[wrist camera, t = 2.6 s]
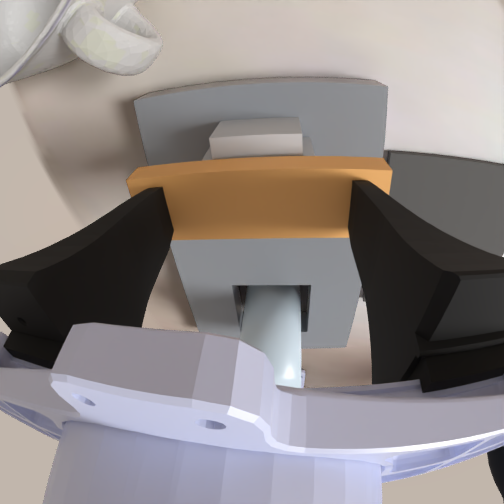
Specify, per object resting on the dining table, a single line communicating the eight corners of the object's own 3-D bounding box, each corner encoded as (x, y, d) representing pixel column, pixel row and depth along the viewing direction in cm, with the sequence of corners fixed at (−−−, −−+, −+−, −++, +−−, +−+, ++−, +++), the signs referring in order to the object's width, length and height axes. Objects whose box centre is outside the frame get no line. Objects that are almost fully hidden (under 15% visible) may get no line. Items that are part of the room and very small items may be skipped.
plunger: (362, 192, 15) (381, 237, 12) (170, 197, 16) (145, 240, 13) (367, 136, 13) (392, 170, 10) (158, 145, 14) (125, 180, 11)
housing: (343, 328, 25) (348, 374, 22) (208, 327, 27) (198, 371, 23) (375, 80, 13) (409, 97, 9) (148, 92, 14) (107, 114, 11)
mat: (481, 290, 21) (483, 293, 21) (362, 297, 23) (363, 301, 23) (529, 169, 14) (532, 172, 14) (388, 150, 15) (390, 153, 15)
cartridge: (299, 307, 24) (299, 399, 18) (249, 307, 25) (237, 397, 18) (300, 270, 22) (303, 371, 15) (244, 270, 22) (229, 369, 16)
